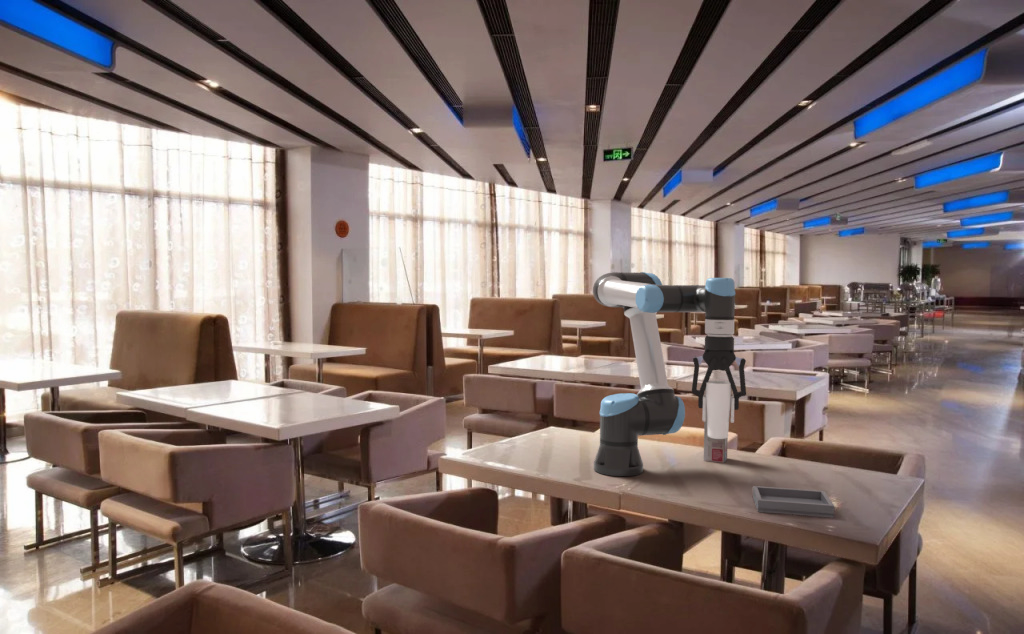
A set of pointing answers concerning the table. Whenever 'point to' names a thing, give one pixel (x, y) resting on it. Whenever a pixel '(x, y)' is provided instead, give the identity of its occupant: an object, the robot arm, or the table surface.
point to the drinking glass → (718, 408)
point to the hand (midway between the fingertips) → (718, 420)
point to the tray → (793, 501)
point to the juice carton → (714, 447)
